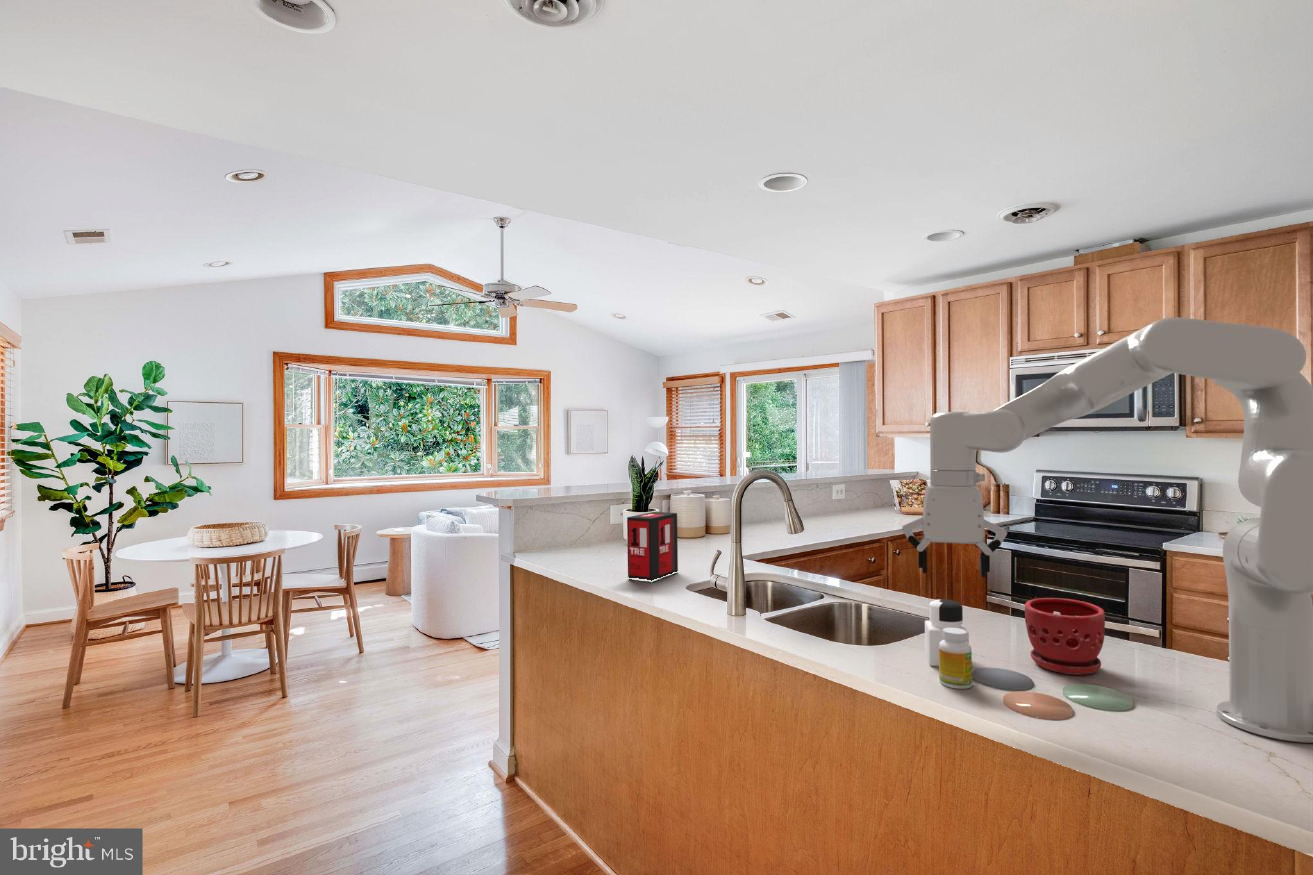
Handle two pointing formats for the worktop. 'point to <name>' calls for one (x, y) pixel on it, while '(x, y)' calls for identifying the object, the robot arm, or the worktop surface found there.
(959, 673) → the supplement bottle
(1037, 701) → the peach coaster
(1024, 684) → the slate grey coaster
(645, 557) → the cleaning product box
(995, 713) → the worktop surface
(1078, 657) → the plant pot
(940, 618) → the medicine bottle
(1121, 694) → the sage green coaster
